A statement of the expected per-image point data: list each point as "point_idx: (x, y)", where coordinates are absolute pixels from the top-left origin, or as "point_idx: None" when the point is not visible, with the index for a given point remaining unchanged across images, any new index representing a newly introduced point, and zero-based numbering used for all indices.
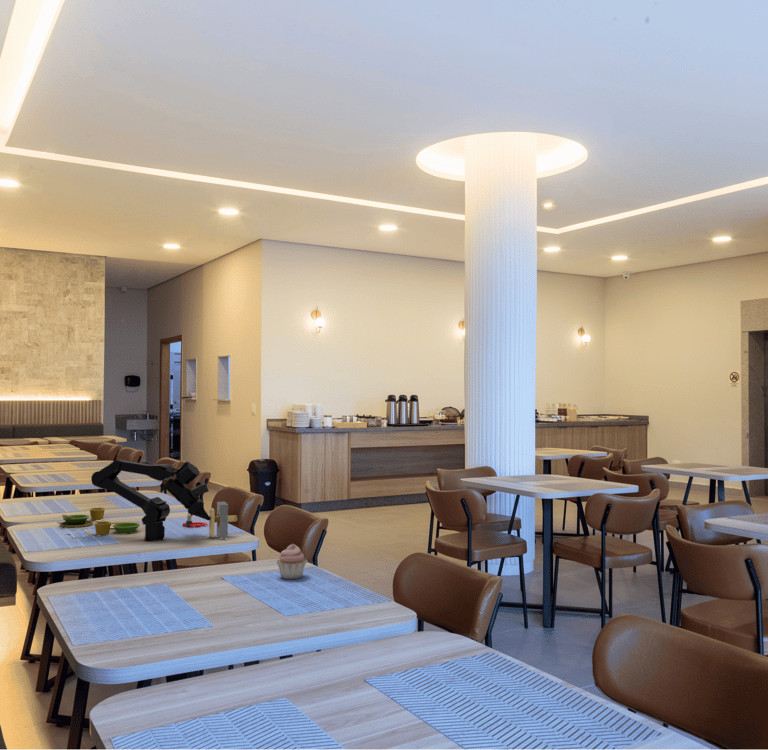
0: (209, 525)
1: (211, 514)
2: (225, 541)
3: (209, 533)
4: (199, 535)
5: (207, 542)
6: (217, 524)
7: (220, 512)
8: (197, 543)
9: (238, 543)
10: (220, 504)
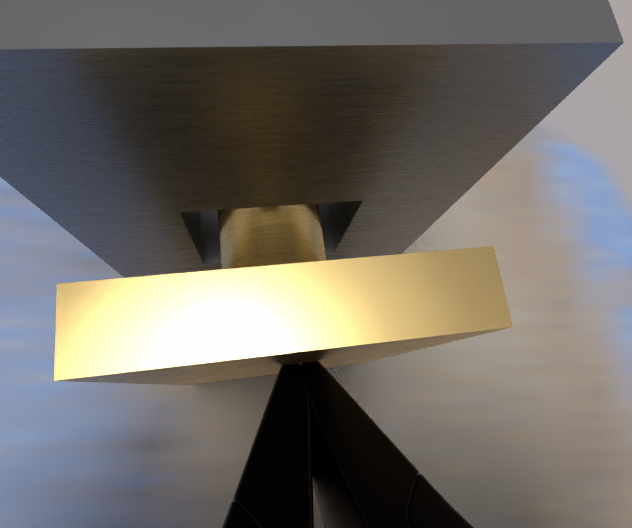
0: (195, 380)
1: (465, 337)
2: (452, 240)
3: (221, 380)
4: (85, 498)
5: (479, 400)
6: (195, 270)
7: (493, 150)
8: (517, 501)
9: (537, 151)
10: (525, 18)
